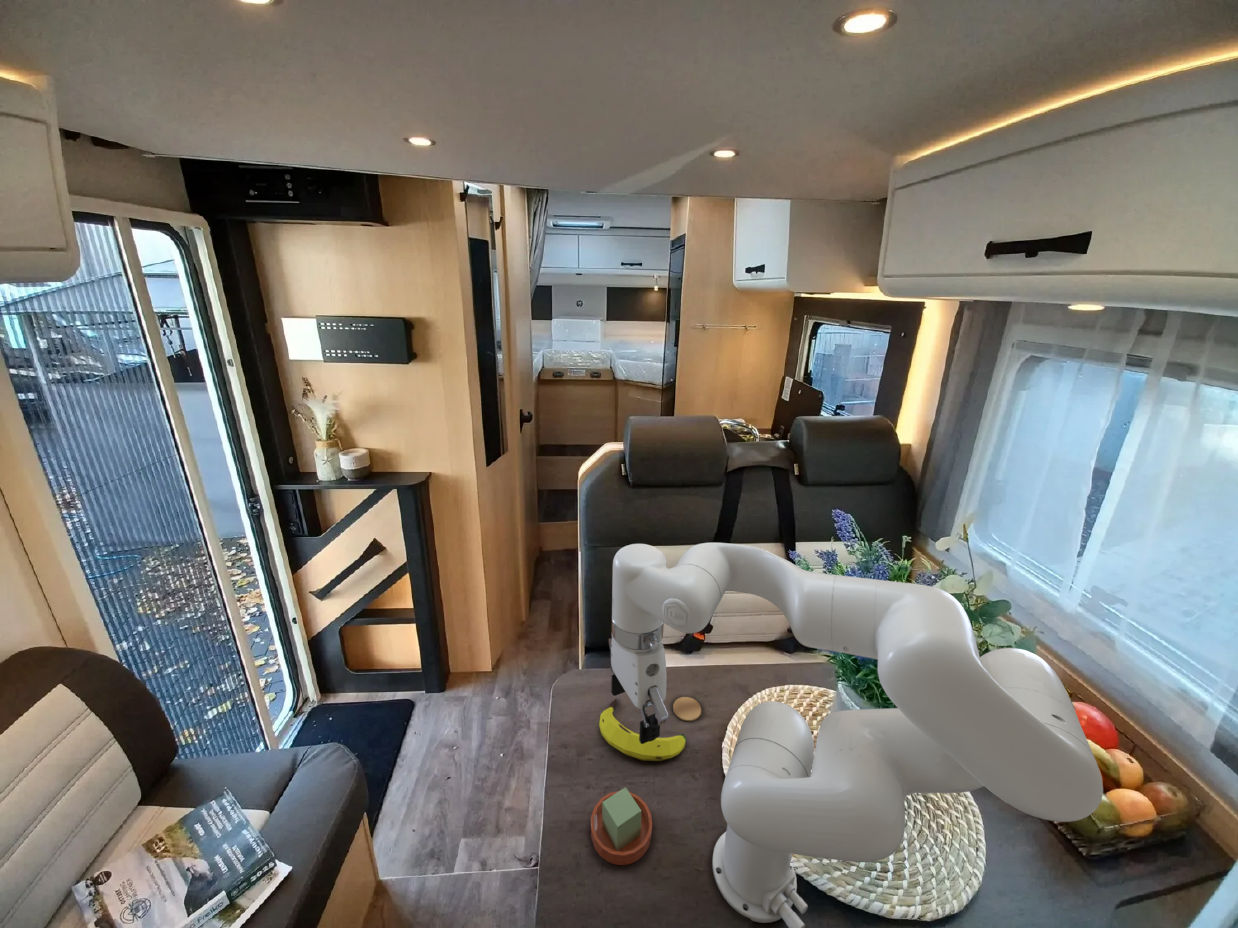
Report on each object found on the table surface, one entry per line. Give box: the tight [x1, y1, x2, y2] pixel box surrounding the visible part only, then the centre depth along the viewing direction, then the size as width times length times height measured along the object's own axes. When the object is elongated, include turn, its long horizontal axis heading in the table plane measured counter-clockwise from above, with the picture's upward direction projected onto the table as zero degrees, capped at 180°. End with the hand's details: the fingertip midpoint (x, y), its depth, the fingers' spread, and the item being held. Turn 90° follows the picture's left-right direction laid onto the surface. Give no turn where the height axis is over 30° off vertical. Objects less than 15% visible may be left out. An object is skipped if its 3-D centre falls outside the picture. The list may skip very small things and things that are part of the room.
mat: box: [672, 696, 702, 722], centre depth 103 cm, size 6×6×1 cm
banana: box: [598, 698, 687, 762], centre depth 97 cm, size 5×17×15 cm
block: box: [602, 786, 641, 851], centre depth 79 cm, size 5×5×6 cm
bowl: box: [590, 790, 653, 866], centre depth 80 cm, size 10×10×3 cm
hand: (634, 714), depth 76 cm, fingers open, 9 cm apart
